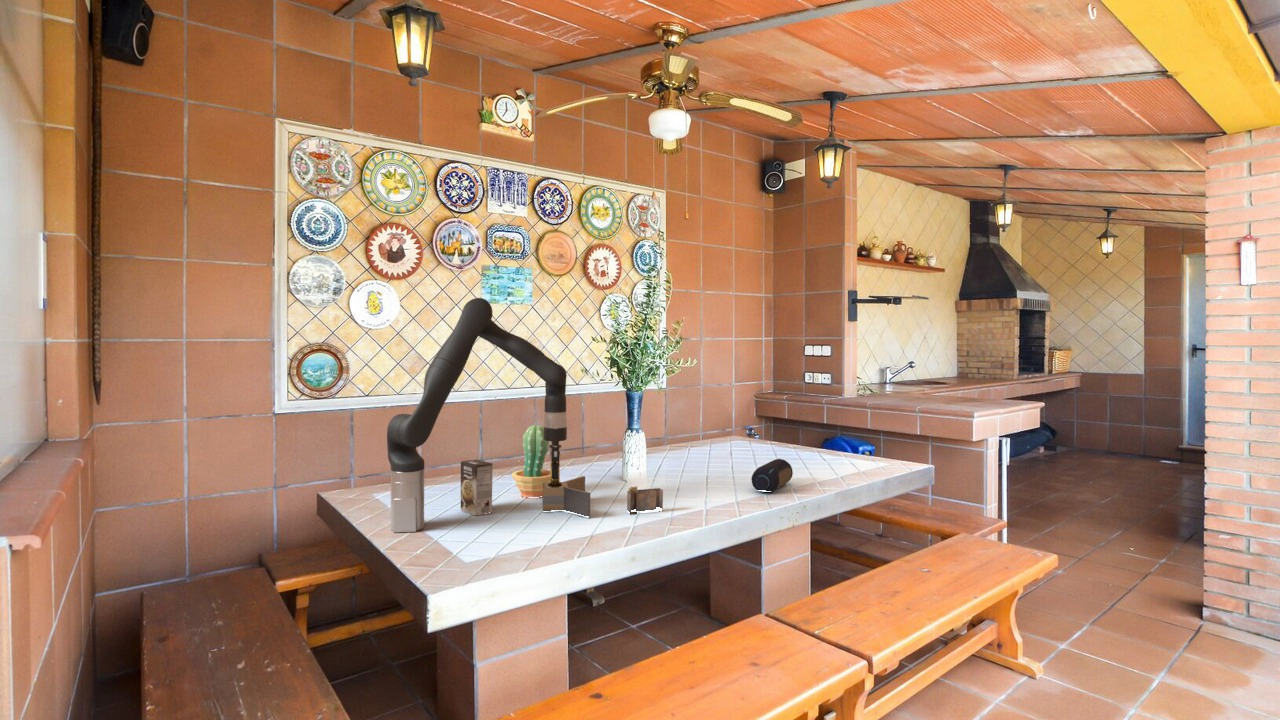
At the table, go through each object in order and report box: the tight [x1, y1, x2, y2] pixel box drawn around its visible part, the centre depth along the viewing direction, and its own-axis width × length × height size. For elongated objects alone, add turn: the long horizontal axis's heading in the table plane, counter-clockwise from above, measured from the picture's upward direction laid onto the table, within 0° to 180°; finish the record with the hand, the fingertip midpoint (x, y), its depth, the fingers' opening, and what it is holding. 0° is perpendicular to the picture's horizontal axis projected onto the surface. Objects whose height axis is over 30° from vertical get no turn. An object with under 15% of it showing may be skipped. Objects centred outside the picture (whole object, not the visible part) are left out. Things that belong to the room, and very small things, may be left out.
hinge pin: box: [549, 460, 561, 486], centre depth 215 cm, size 4×4×11 cm
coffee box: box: [460, 459, 494, 516], centre depth 211 cm, size 9×6×16 cm
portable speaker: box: [751, 458, 794, 492], centre depth 249 cm, size 25×10×10 cm, turn 150°
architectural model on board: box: [626, 485, 664, 512], centre depth 213 cm, size 11×3×10 cm, turn 112°
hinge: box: [541, 475, 591, 517], centre depth 216 cm, size 25×15×8 cm, turn 9°
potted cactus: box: [511, 424, 550, 498], centre depth 233 cm, size 15×15×25 cm
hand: (554, 477), depth 215 cm, fingers closed on hinge pin, 3 cm apart
